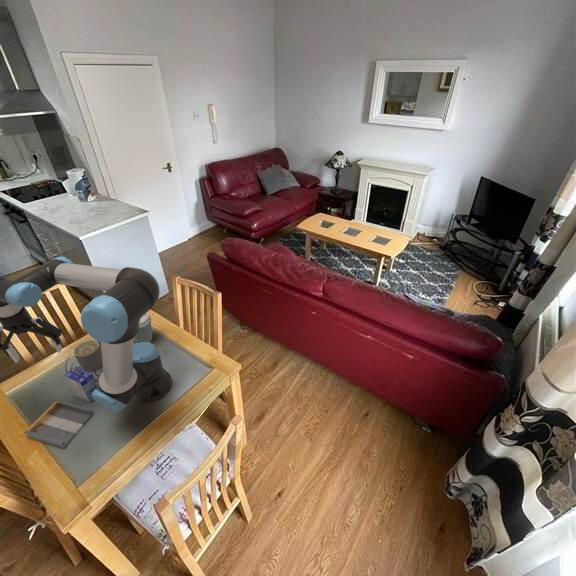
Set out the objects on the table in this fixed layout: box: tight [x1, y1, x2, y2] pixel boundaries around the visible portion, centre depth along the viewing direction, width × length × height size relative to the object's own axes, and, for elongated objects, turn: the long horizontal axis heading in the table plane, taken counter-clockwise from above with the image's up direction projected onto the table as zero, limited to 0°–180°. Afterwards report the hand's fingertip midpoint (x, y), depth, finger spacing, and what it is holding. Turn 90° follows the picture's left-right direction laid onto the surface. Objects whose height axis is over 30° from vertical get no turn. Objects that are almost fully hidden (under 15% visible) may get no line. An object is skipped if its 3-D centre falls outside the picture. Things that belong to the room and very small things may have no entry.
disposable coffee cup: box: [134, 312, 153, 343], centre depth 147 cm, size 11×11×15 cm
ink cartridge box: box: [63, 366, 99, 403], centre depth 122 cm, size 10×6×14 cm, turn 67°
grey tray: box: [23, 399, 95, 449], centre depth 114 cm, size 16×14×3 cm
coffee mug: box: [72, 339, 103, 373], centre depth 138 cm, size 13×10×10 cm
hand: (39, 354), depth 114 cm, fingers open, 13 cm apart
